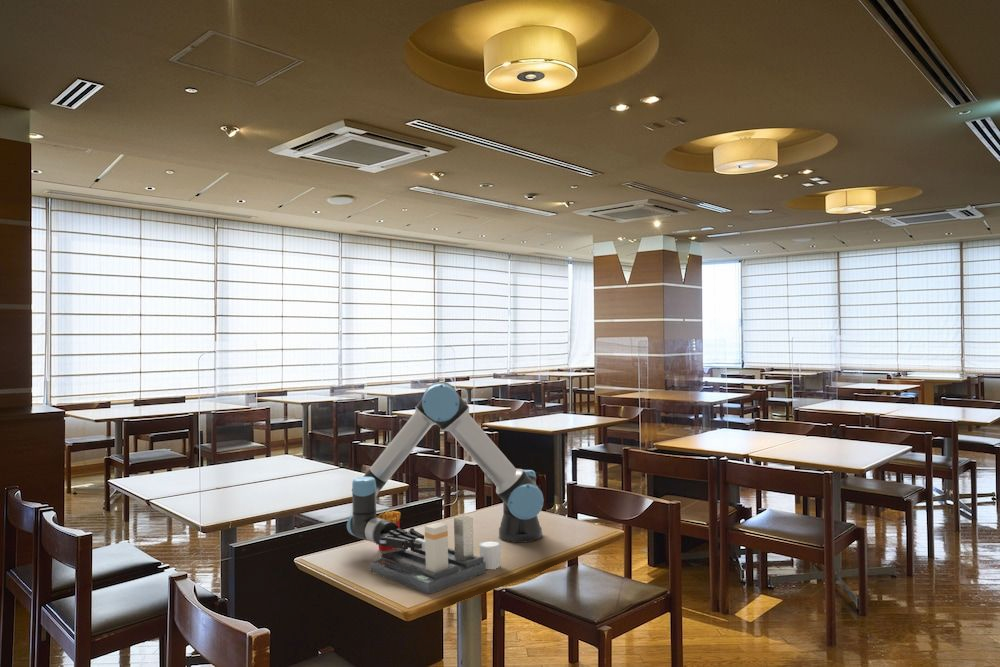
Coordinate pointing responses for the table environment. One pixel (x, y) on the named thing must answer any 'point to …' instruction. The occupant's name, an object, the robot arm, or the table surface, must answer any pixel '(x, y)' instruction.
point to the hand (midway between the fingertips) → (431, 547)
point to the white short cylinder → (490, 553)
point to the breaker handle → (436, 547)
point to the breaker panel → (413, 563)
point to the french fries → (391, 517)
